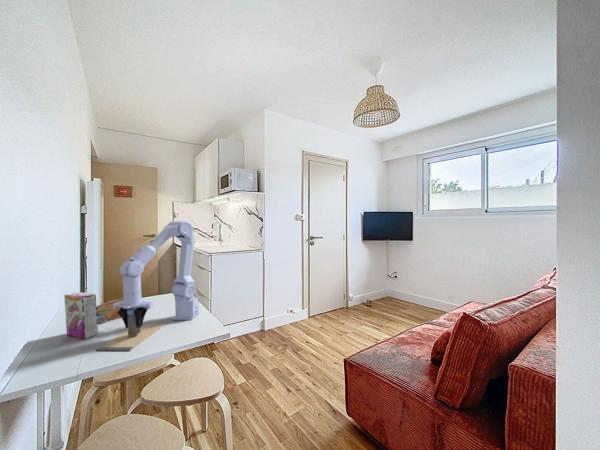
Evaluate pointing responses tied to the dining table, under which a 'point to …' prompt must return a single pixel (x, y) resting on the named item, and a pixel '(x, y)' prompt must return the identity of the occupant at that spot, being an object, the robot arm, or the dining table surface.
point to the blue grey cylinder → (132, 322)
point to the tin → (108, 311)
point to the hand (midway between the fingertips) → (134, 326)
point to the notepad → (130, 339)
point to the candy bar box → (81, 315)
